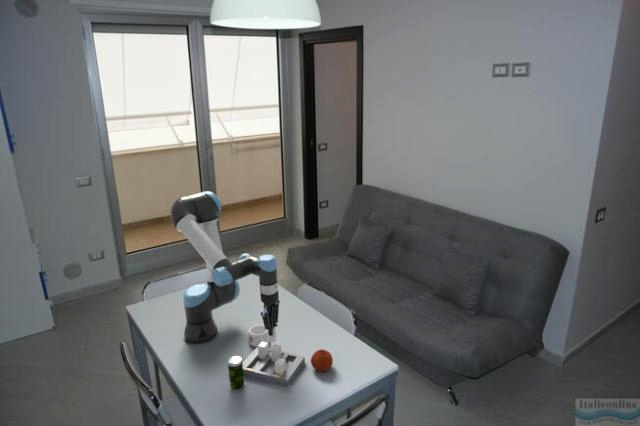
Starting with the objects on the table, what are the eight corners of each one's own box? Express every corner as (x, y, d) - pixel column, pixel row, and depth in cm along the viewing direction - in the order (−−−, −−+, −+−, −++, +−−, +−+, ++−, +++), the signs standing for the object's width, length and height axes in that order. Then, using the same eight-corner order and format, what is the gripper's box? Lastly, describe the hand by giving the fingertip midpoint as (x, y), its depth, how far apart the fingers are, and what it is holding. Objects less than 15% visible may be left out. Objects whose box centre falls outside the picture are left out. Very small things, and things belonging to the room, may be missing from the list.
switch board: (238, 374, 181) (238, 367, 181) (258, 352, 196) (258, 345, 195) (287, 386, 173) (287, 379, 172) (304, 362, 187) (304, 356, 187)
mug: (274, 341, 204) (273, 329, 202) (257, 350, 197) (256, 338, 195) (258, 331, 212) (257, 319, 210) (241, 339, 205) (240, 328, 204)
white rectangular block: (258, 358, 189) (257, 346, 187) (262, 353, 192) (262, 341, 190) (265, 359, 188) (264, 347, 186) (269, 355, 191) (268, 342, 189)
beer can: (238, 380, 178) (235, 354, 174) (247, 385, 175) (245, 359, 171) (227, 387, 174) (224, 360, 170) (236, 393, 171) (233, 366, 167)
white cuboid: (271, 361, 187) (270, 348, 185) (275, 356, 190) (274, 344, 188) (277, 362, 185) (277, 350, 184) (281, 358, 189) (281, 345, 187)
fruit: (311, 361, 188) (310, 345, 186) (332, 361, 188) (332, 344, 185) (310, 375, 180) (309, 358, 177) (332, 375, 179) (332, 357, 177)
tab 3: (275, 376, 177) (274, 363, 175) (279, 370, 180) (278, 357, 179) (282, 378, 176) (281, 364, 174) (286, 372, 179) (285, 359, 178)
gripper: (269, 299, 182) (273, 350, 189) (284, 286, 193) (287, 334, 200) (253, 296, 185) (257, 347, 192) (268, 283, 196) (272, 331, 203)
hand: (272, 340), depth 196 cm, fingers closed
